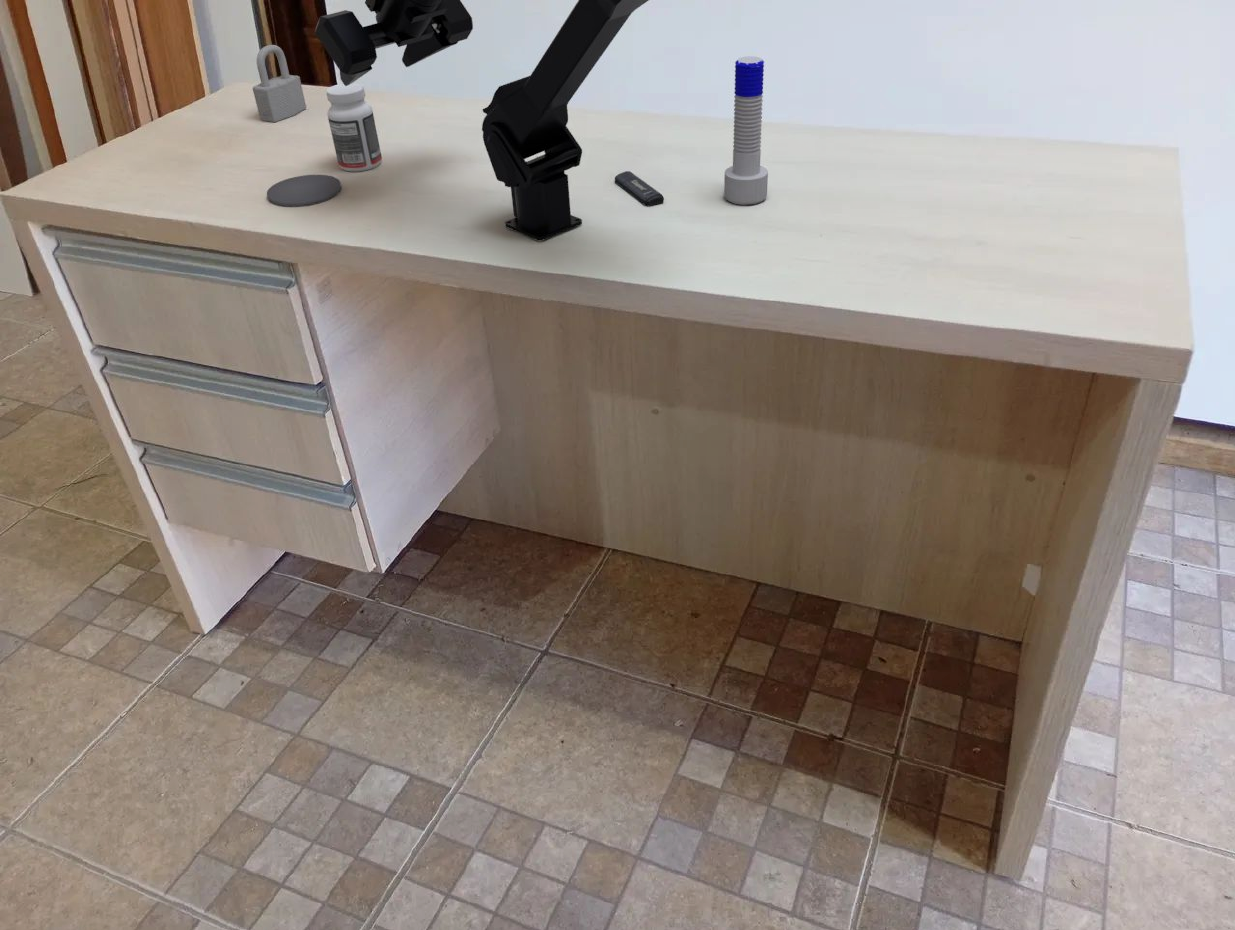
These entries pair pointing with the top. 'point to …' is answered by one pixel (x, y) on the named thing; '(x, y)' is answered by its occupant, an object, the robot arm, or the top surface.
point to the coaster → (304, 190)
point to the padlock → (277, 89)
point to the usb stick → (639, 189)
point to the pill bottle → (353, 128)
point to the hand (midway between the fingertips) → (375, 72)
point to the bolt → (747, 136)
